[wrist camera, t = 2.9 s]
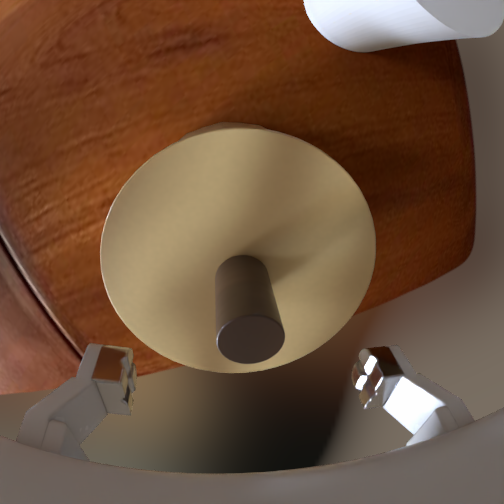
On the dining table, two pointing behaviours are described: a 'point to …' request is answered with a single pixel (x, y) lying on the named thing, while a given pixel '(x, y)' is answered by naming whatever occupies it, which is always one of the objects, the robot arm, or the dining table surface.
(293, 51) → the dining table surface
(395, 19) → the white cylinder
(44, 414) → the robot arm
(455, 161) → the dining table surface
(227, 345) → the basket lid
